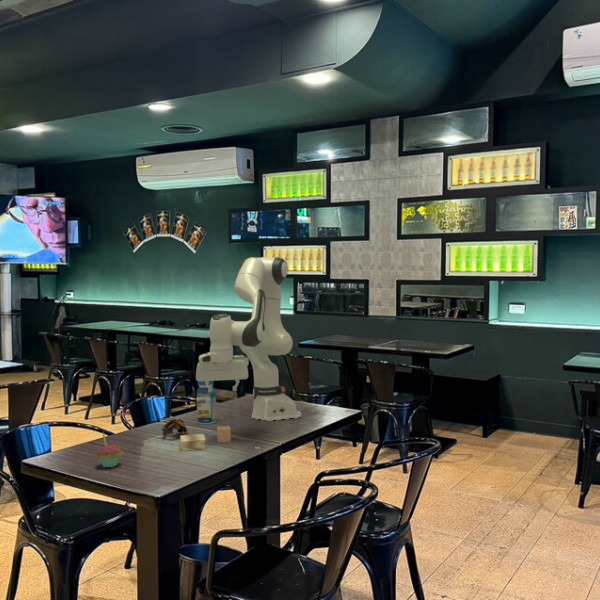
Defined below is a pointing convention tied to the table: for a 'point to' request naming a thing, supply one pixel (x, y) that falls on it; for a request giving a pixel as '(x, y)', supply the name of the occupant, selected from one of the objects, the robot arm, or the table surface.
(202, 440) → the beech block
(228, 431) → the terracotta cube
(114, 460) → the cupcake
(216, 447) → the table surface
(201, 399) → the vitamin bottle
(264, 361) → the robot arm
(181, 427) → the brown rounded piece
